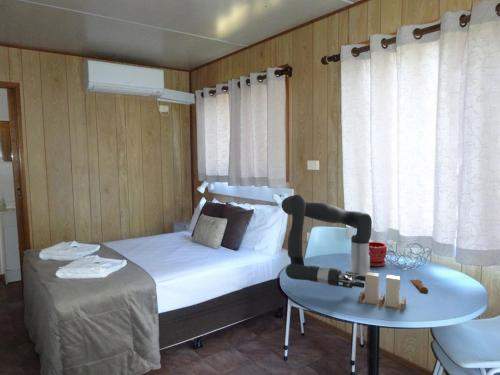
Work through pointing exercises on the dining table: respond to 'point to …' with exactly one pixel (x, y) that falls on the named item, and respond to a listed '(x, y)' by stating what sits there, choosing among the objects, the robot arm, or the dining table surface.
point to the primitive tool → (420, 286)
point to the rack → (382, 302)
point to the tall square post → (392, 291)
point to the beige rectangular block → (372, 288)
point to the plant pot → (377, 253)
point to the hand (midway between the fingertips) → (366, 282)
